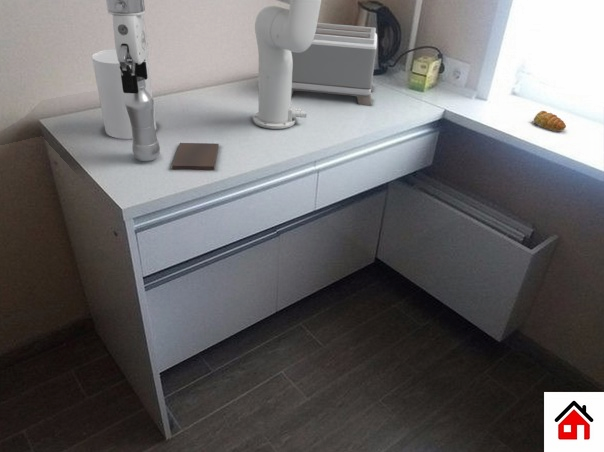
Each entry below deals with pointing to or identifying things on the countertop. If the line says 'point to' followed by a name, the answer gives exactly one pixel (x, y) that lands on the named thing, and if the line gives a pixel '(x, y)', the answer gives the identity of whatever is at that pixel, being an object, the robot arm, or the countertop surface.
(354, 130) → the countertop surface
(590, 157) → the countertop surface
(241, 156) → the countertop surface
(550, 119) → the pastry
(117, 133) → the canister
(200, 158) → the walnut board
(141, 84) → the silver bottle
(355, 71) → the toaster
